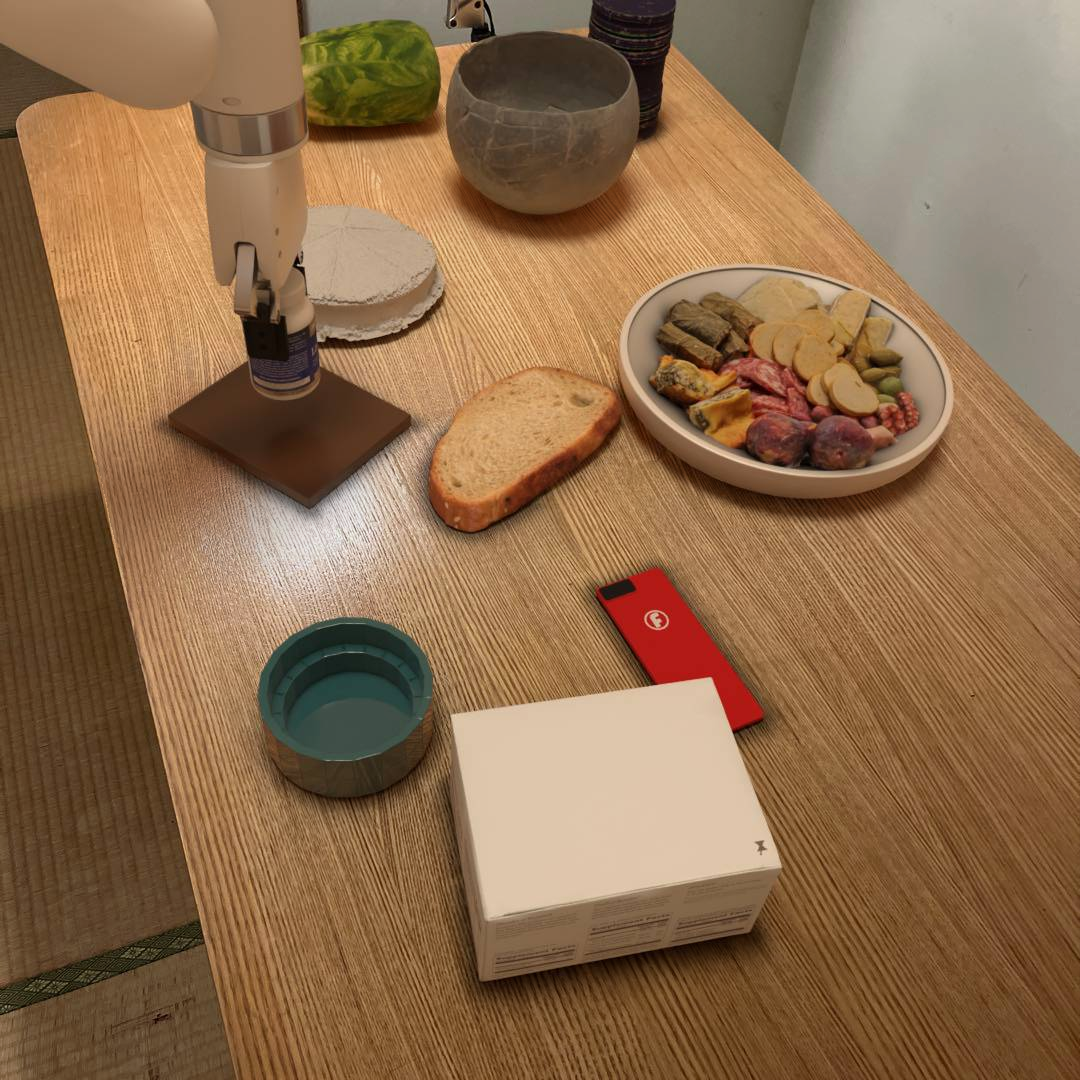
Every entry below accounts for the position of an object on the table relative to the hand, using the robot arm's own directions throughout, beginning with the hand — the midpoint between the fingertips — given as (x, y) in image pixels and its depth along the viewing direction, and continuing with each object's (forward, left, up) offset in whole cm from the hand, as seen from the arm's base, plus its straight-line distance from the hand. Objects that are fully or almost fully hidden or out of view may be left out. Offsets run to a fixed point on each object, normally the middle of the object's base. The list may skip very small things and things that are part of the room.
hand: (279, 330), depth 86 cm
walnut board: (0, 0, -10) cm, 10 cm away
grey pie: (-10, +18, -10) cm, 23 cm away
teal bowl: (+24, -20, -10) cm, 33 cm away
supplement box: (+43, -18, -10) cm, 47 cm away
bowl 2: (+32, +30, -10) cm, 45 cm away
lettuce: (-31, +44, -10) cm, 55 cm away
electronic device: (+39, -1, -10) cm, 40 cm away
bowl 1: (-5, +45, -10) cm, 46 cm away
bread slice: (+18, +10, -10) cm, 23 cm away
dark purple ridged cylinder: (-7, +66, -10) cm, 67 cm away
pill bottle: (0, 0, -5) cm, 5 cm away
